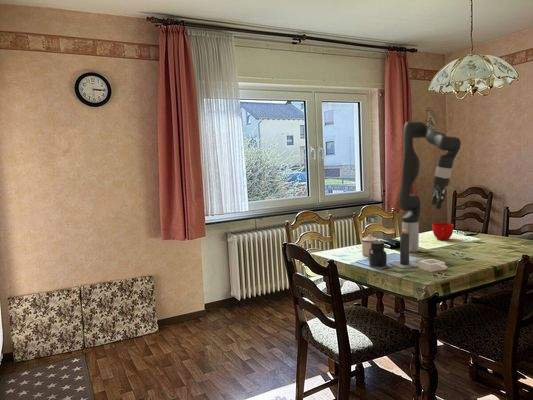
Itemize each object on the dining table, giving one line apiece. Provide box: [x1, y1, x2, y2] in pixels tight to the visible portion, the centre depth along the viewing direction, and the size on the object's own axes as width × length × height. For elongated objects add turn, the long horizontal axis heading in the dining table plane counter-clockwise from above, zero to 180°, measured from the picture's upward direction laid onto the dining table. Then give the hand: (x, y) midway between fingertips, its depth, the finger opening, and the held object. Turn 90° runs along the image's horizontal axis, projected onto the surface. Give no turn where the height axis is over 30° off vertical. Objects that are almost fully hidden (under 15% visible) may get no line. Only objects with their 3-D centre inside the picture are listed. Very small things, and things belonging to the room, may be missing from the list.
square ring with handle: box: [417, 258, 448, 273], centre depth 203 cm, size 15×9×4 cm, turn 18°
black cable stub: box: [399, 229, 410, 265], centre depth 215 cm, size 4×4×18 cm
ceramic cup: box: [431, 222, 454, 241], centre depth 273 cm, size 13×17×10 cm
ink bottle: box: [368, 240, 388, 268], centre depth 217 cm, size 10×9×12 cm
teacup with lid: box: [361, 234, 379, 257], centre depth 241 cm, size 12×9×12 cm
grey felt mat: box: [388, 260, 418, 270], centre depth 215 cm, size 12×12×1 cm
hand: (435, 206), depth 215 cm, fingers open, 8 cm apart
